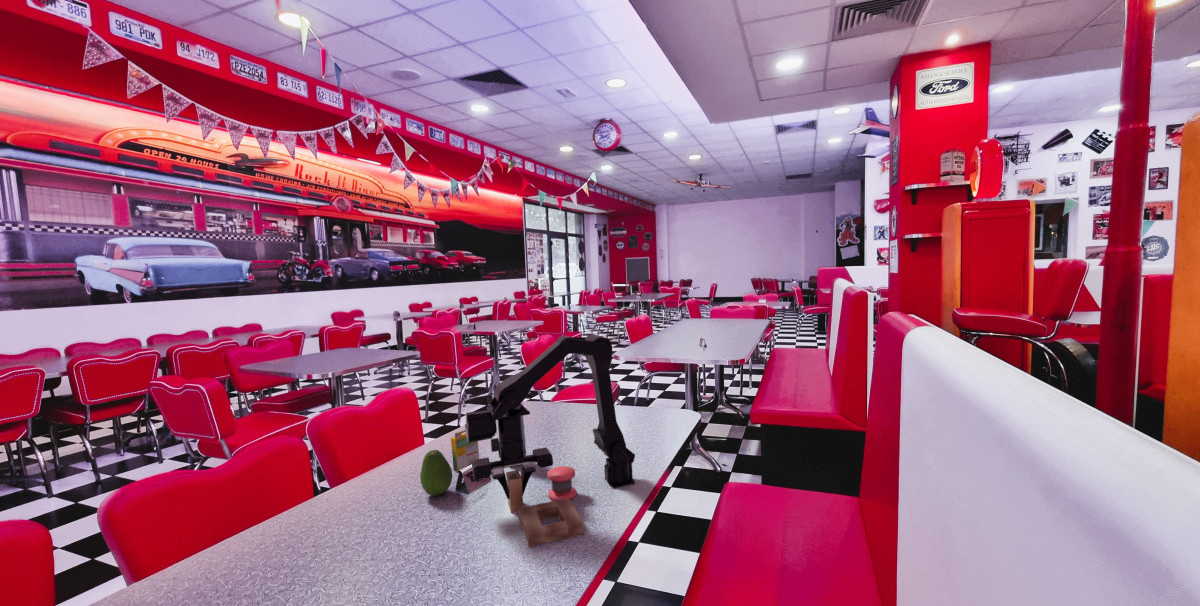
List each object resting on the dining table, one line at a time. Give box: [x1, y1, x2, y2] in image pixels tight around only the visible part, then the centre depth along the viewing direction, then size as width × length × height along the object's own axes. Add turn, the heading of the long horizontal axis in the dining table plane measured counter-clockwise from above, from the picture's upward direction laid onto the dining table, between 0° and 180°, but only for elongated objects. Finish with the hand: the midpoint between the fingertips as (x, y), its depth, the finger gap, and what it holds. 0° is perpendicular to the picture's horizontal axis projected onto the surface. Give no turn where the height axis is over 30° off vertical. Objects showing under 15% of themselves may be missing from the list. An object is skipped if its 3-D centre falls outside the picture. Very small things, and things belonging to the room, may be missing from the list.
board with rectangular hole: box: [518, 498, 585, 548], centre depth 106 cm, size 12×12×2 cm
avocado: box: [419, 449, 453, 497], centre depth 124 cm, size 8×8×12 cm
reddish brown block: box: [505, 469, 524, 514], centre depth 115 cm, size 3×5×8 cm, turn 19°
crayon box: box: [450, 429, 480, 473], centre depth 141 cm, size 7×3×12 cm, turn 134°
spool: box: [546, 465, 577, 502], centre depth 120 cm, size 7×7×6 cm
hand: (515, 496), depth 116 cm, fingers closed on reddish brown block, 3 cm apart
